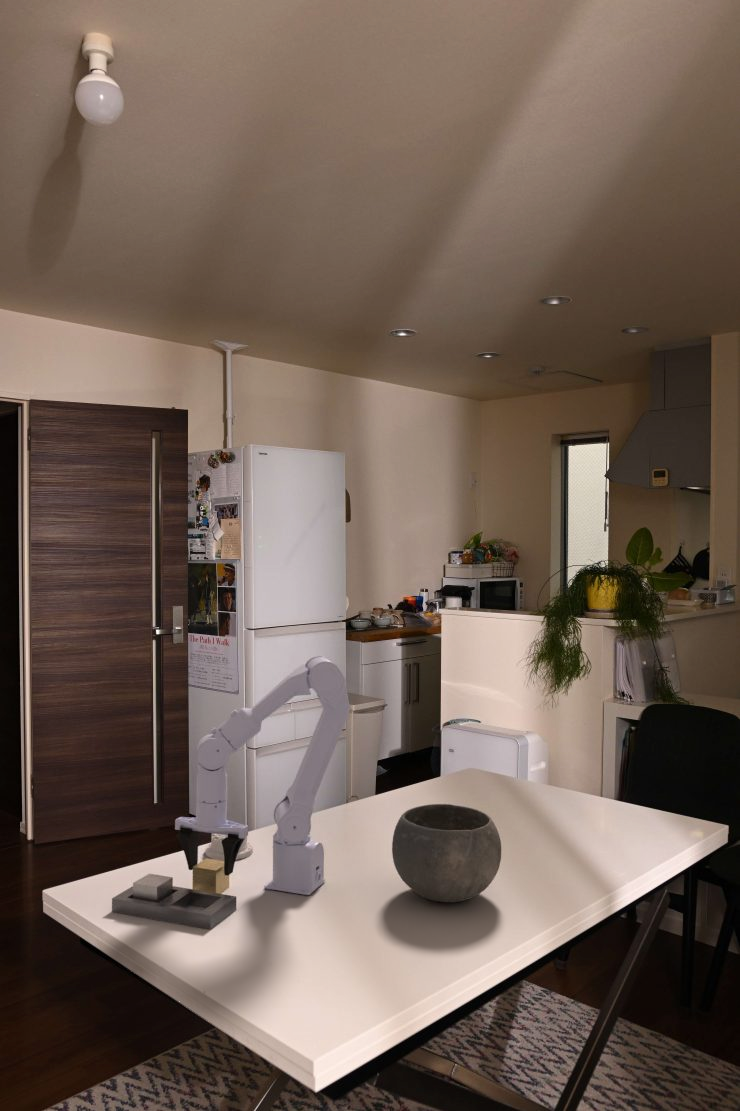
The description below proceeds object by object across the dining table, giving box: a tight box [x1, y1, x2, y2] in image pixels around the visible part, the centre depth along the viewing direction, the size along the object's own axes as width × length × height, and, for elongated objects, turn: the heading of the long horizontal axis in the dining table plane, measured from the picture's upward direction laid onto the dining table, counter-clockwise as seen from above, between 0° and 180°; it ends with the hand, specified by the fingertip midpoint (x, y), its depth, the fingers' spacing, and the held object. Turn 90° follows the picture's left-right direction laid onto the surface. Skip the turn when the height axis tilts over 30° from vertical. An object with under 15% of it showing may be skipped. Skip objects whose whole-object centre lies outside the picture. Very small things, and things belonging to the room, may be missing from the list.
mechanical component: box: [204, 833, 254, 861], centre depth 192 cm, size 10×4×10 cm
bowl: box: [391, 803, 502, 903], centre depth 169 cm, size 20×20×15 cm
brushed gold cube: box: [192, 857, 230, 894], centre depth 171 cm, size 5×5×5 cm
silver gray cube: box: [132, 873, 174, 903], centre depth 163 cm, size 5×5×5 cm
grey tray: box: [111, 885, 237, 930], centre depth 161 cm, size 20×9×2 cm, turn 70°
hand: (210, 870), depth 171 cm, fingers open, 7 cm apart
